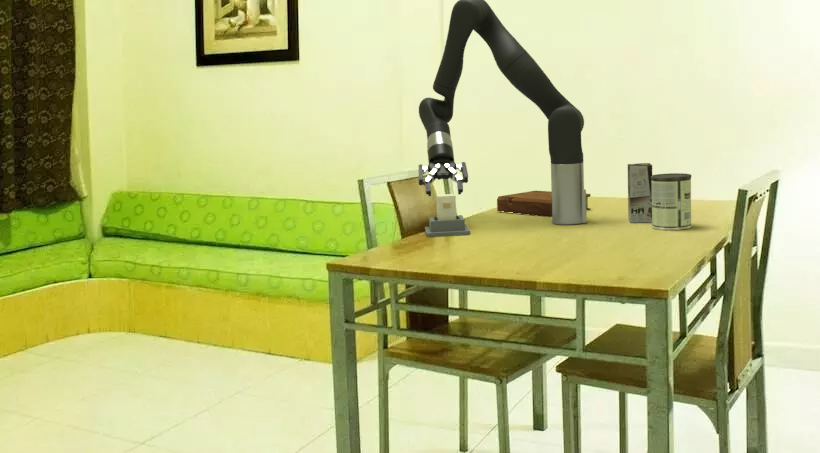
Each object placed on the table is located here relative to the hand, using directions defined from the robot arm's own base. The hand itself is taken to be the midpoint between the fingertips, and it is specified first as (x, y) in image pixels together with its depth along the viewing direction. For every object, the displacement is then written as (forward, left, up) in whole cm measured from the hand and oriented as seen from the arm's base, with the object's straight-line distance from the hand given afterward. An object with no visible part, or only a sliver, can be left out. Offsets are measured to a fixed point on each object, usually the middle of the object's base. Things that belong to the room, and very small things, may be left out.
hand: (444, 193), depth 242 cm
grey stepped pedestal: (0, +4, -11) cm, 11 cm away
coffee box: (-55, +1, -11) cm, 57 cm away
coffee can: (-59, +16, -11) cm, 62 cm away
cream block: (0, +4, -10) cm, 10 cm away
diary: (-33, -30, -11) cm, 46 cm away
